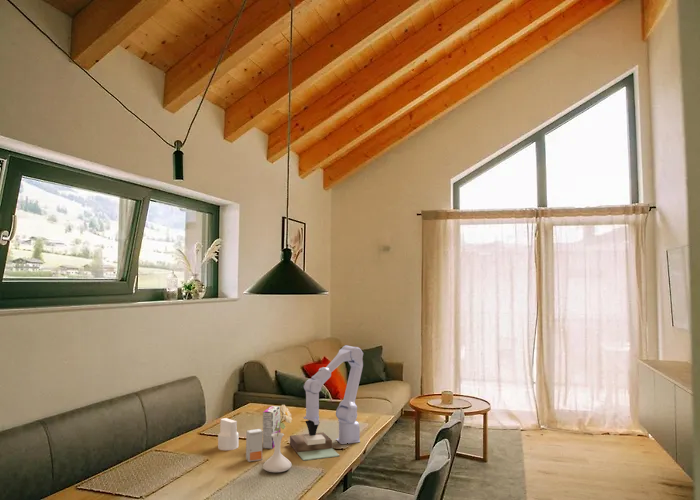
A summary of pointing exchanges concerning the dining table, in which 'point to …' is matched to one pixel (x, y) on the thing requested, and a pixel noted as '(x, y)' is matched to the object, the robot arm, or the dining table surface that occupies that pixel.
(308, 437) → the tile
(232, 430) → the cylinder with rectangular tab
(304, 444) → the brown flat block
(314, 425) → the robot arm
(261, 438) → the skincare box
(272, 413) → the candy bar box
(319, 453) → the mat
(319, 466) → the dining table surface
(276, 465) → the flower in vase
